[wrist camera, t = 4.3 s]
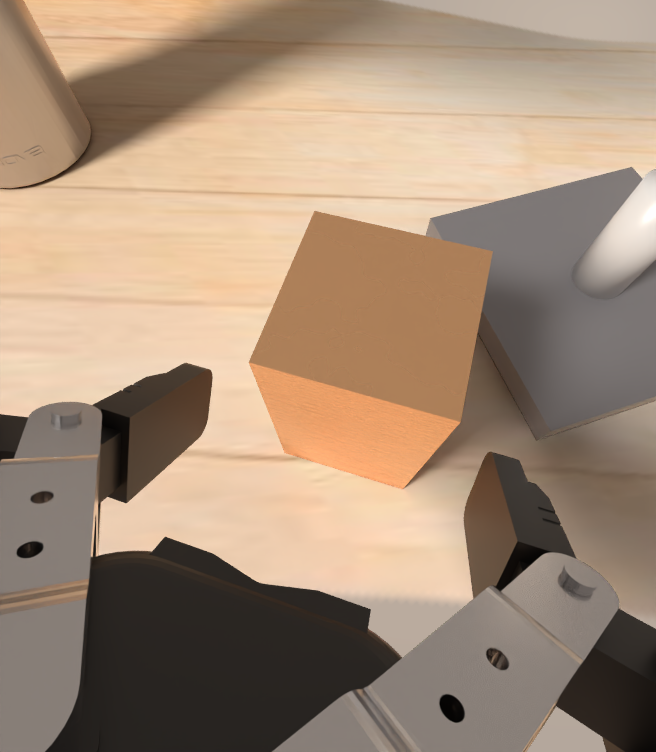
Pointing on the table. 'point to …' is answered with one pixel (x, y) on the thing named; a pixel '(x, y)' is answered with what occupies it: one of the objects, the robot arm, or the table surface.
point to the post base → (569, 295)
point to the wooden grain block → (371, 346)
